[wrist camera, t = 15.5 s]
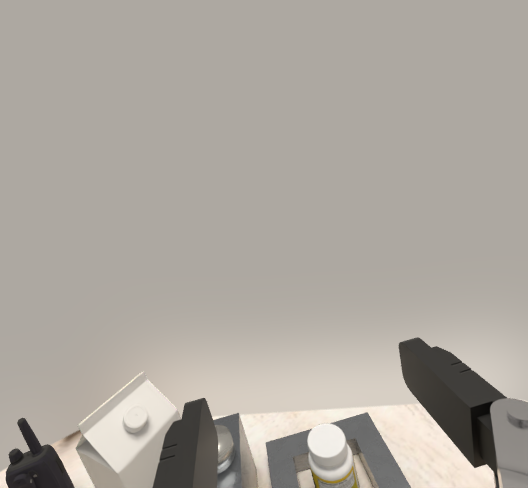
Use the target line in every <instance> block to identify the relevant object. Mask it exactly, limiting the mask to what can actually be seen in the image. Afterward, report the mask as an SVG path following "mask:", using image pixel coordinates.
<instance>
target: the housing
mask: <svg viewBox="0 0 528 488" xmlns="http://www.w3.org/2000/svg"><path fill="white" fill-rule="evenodd" d="M213 422H214V425H215V427H216V431H217V436H218V473H217V488H258V483H257V472H256V467H255V464H254V460H253V457H252V454H251V451H250V448H249V444H248V441H247V438H246V435H245V432H244V428H243V425H242V422H241V419H240V416H239V413H237V414H233V415H230V416H226V417H223V418H220V419H216V420H213ZM330 424H333V425H336V426H337V427H339V428H340V429H341V430H342V431H343V433H344V435H345V438H346V442H347V444H348V445H349V447H350V449H351V451H352V454H353V455H355V454H359V456H360V459H361V461H362V463H363V465H364V467H365V469H366V472H367V474H368V476H369V478H370V480H371V482H372V485H373V487H374V488H411V487H410V485H409V483H408V482H407V480H406V478H405V476H404V475H403V473H402V471H401V470H400V468H399V466H398V464H397V463H396V461H395V459H394V457H393V456H392V454H391V452H390V451H389V449H388V447H387V445H386V444H385V442H384V440H383V439H382V437H381V435H380V433H379V432H378V430H377V428H376V427H375V425H374V423H373V421H372V420H371V418H370V416H369V414H368V413H364V414H360V415H357V416H354V417H350V418H347V419H344V420H340V421H337V422H333V423H330ZM311 430H312V429H310V430H307V431H303V432H300V433H297V434H293V435H290V436H286V437H283V438H280V439H276V440H273V441H270V442H266V448H267V455H268V462H269V469H270V477H271V484H272V488H300V484H299V480H298V476H297V472H300V471H303V470H306V469H309V468H310V465H309V459H308V456H309V448H308V442H307V439H308V435H309V433H310V431H311Z"/></svg>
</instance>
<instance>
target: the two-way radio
mask: <svg viewBox="0 0 528 488" xmlns="http://www.w3.org/2000/svg"><path fill="white" fill-rule="evenodd" d="M18 426H19V428H20V430H21V432H22V435H23V437H24V439H25V440H26V443H27V445H28V447H29V449H30V451H28V452H26V453H24V454H23V453H22V452H21V451H20V450H19V449H14V450H12V451H11V452H10V453H9V458H10V462H11V464H10V465H9V467H8V469H7V471H6V483H7V485H8V487H9V488H74V485H73V483H72V481H71V479H70V477H69V475H68V473H67V472H66V470H65V468H64V465H63V463H62V461H61V459H60V458H59V456H58V454H57V453H56V451H55V450H54V448H53V447H52V446H50V445H44V446H41V445H40V443H39V441H38V439H37V438H36V436H35V434H34V432H33V431H32V429H31V428H30V426H29V424H28V423H27V421H26V419H25V418H21V419H19V420H18Z"/></svg>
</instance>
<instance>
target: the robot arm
mask: <svg viewBox="0 0 528 488" xmlns="http://www.w3.org/2000/svg"><path fill="white" fill-rule="evenodd" d="M399 352H400V359H401V366H402V373H403V377H404V380H405V383H406V385H407V387H408V388H409V390H410V391H411V392H412V394H413V395H414V396H415V397H416V398H417V400H418V401H419V402H420V403H421V404H422V406H423V407H424V408H425V409H426V410H427V412H428V413H429V414H430V415H431V416H432V418H433V419H434V420H435V421H436V422H437V424H438V425H439V426H440V427H441V428H442V430H443V431H444V432H445V433H446V434H447V435H448V437H449V438H450V439H451V440H452V441H453V443H454V444H455V445H456V446H457V447H458V449H459V450H460V451H461V452H462V453H463V455H464V456H465V457H466V458H467V459H468V461H469V462H470V463H471V464H472V465H473V467H474V468H476V467H479V466H482V465H486V464H487V465H488V466H489V467H490V468H491V469H492V470H493V471H494V483H495V488H528V402H525V401H522V400H518V399H511V398H507V397H505V396H504V395H503V394H502V393H500V392H499V391H498V390H497V389H495V388H494V387H493V386H492V385H490V384H489V383H488V382H486V381H485V380H484V379H483V378H481V377H480V376H479V375H478V374H477V373H475V372H474V371H472V370H471V368H469V367H468V366H467V365H466V364H464V363H462V361H461V360H459V359H458V358H457V357H456V356H454V355H453V354H452V353H450V352H448V351H446V350H444V349H441V348H439V347H433V348H431V347H430V346H428V345H427V344H426V343H425V342H424V341H422V340H421V339H420V338H414V339H410V340H407V341H403V342H400V343H399ZM159 461H160V462H159V463H158V467H157V471H156V475H155V479H154V483H153V488H217V473H218V436H217V431H216V427H215V425H214V422H213V419H212V416H211V413H210V410H209V407H208V404H207V401H206V399H205V398H202V399H198V400H195V401H191V402H188V403H185V405H184V410H183V415H182V419H181V420H177V421H174V422H173V423H172V425H171V426H170V428H169V430H168V431H167V433H166V434H165V438H164V442H163V446H162V451H161V454H160V459H159Z"/></svg>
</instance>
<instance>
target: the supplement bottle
mask: <svg viewBox="0 0 528 488" xmlns="http://www.w3.org/2000/svg"><path fill="white" fill-rule="evenodd" d="M307 442H308V448H309V456H308V459H309V465H310V469H311V473H312V476H313V480H314V484H315V488H360V487H359V482H358V478H357V473H356V469H355V464H354V459H353V454H352V451H351V449H350V447H349V445H348V444H347V442H346V438H345V435H344V433H343V431H342V430H341V429H340V428H339V427H337V426H336V425H333V424H329V423H323V424H319V425H317V426H315V427H314V428H313V429H312V430H311V431H310V433H309V435H308V439H307Z"/></svg>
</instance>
